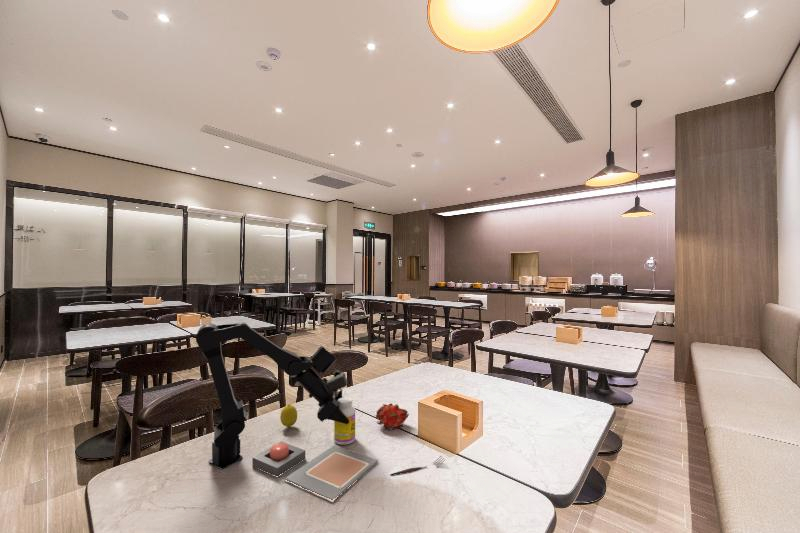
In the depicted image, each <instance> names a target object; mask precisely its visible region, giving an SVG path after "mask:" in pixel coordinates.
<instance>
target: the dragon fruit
mask: <svg viewBox="0 0 800 533" xmlns="http://www.w3.org/2000/svg"><path fill="white" fill-rule="evenodd" d="M409 416H410V413H408V410H407V409H404V408H400V406H399V404H393V403H389V404H385V403H383V404H382V406H380V407H379V408H378V409H377V410H376V415H375V417H376V419H377V421H376V423H377V424H378V425H383V427H384V428H387V429H389V430H392V429H393V428H398V429H399V428H401V427H403V426H404V425H403V424H404V423H405V421H406V420H407V419H408V417H409Z"/></svg>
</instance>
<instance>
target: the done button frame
mask: <svg viewBox="0 0 800 533" xmlns="http://www.w3.org/2000/svg"><path fill="white" fill-rule="evenodd" d="M279 443H285V444H288V445H289V456H287V457H286V458H284V459H283V460H281V461H279V462H277V461H274V460H272V459H270V448H271V447H272V446H271V447H268V448H267V449H265V450H264V451H261V452H260V453H258V454H256V455H254V456H252V458H251V459H252V467H253V466H254V467H253V468H255V467H256V468H255V469H257V468H259V469H261V470H263V471H262V472H264V471H265V472H264V473H266V472H268V473H270V474H273V475H275V476H279V475H280V474H282V473H284V472H285V471H287V470H288V469H290V468H291V467H293V466H294V465H296V464H297V465H298V463H299V462H300V463H302V462H303V461H305V460H306V449H303V448H300V447H297V446H295V445H292V444H289V443H287V442H284V441H280V442H278V443H277V444H279ZM304 459H305V460H304ZM302 460H303V461H302ZM301 461H302V462H301ZM300 463H299V464H300ZM297 465H296V466H297ZM294 467H295V466H294ZM294 467H293V468H294ZM259 469H258V470H259ZM291 469H292V468H291ZM291 469H290V470H291ZM261 470H260V471H261ZM288 471H289V470H288ZM288 471H287V472H288ZM268 473H267V474H268ZM285 473H286V472H285ZM285 473H284V474H285ZM270 474H269V475H270ZM282 475H283V474H282ZM275 476H274V477H275ZM279 477H280V476H279Z"/></svg>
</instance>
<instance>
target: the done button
mask: <svg viewBox="0 0 800 533" xmlns="http://www.w3.org/2000/svg"><path fill="white" fill-rule="evenodd" d="M278 443H279V442H278ZM278 443H275V444H274V445H272V446H271V448H270V447H269V448H270V459H272V460H274V461H277V462H279V461H281V460H283V459H284V458H286V457H287V456H289V445H288V444H289V443H287V444H285V443H286V442H284V443H279V444H278Z"/></svg>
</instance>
